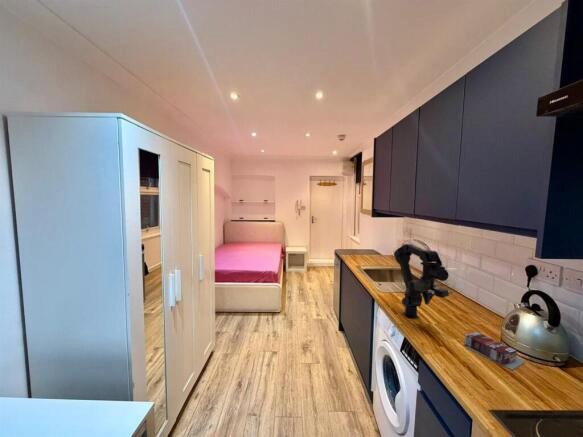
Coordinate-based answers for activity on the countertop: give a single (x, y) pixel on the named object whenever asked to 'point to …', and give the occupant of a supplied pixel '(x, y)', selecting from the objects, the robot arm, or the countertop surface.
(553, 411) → the countertop surface
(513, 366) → the mat
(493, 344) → the supplement box
